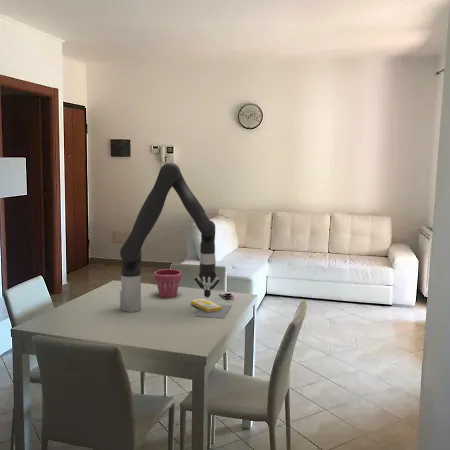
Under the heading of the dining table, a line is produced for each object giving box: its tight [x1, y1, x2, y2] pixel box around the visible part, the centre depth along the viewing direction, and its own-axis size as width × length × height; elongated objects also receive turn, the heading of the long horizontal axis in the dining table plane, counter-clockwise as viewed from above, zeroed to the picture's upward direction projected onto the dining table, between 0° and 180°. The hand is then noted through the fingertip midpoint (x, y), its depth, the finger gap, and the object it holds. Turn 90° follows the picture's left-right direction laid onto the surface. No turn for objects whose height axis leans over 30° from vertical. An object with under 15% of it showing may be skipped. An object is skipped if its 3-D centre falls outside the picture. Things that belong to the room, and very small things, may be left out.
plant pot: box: [154, 268, 182, 299], centre depth 269 cm, size 14×14×13 cm
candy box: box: [190, 298, 222, 312], centre depth 249 cm, size 16×2×8 cm
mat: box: [194, 303, 233, 319], centre depth 245 cm, size 14×20×1 cm
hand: (207, 297), depth 244 cm, fingers closed
